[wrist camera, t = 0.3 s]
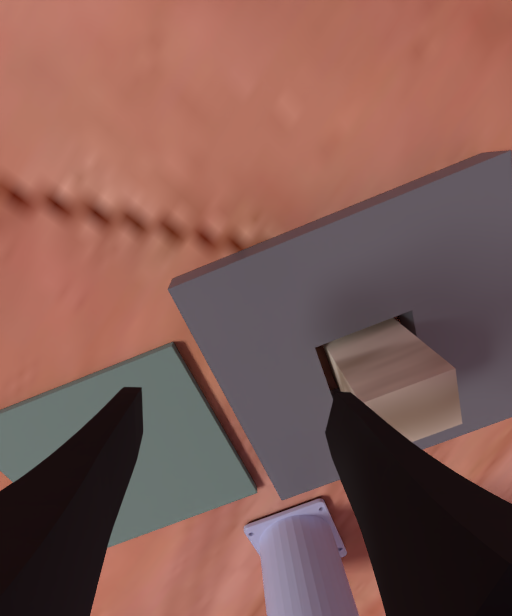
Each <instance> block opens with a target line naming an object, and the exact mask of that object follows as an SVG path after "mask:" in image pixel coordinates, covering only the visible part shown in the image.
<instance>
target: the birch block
mask: <svg viewBox="0 0 512 616" xmlns="http://www.w3.org/2000/svg"><path fill="white" fill-rule="evenodd" d="M323 347H324V350H325V353H326V356H327V359H328V362H329V365H330V368H331V371H332V374H333V377H334V380H335V382H336V384H337V385H338V387H339V389H340V391H341V392H351V393H352V394H353V395H355V396H356V397H357V398H358V399H360V400H361V401H362V402H363V403H364V404H366V405H367V406H368V407H369V408H370V409H372V410H373V411H374V412H375V413H376V414H378V415H379V416H380V417H381V418H382V419H383V420H385V421H386V422H387V423H388V424H390V425H391V426H392V427H393V428H394V429H396V430H397V431H398V432H399V433H401V434H402V435H403V436H405V437H406V438H407V439H408V440H410V441H411V442H414V441H416V440H419V439H422V438H425V437H427V436H430V435H433V434H436V433H438V432H441V431H444V430H446V429H449V428H452V427H455V426H457V425H460V424H462V417H461V409H460V401H459V393H458V385H457V377H456V369H455V368H454V367H453V366H452V365H451V364H450V363H448V362H447V361H446V360H445V359H443V358H442V357H441V356H440V355H438V354H437V353H436V352H435V351H434V350H432V349H431V348H430V347H429V346H427V345H426V344H425V343H424V342H422V341H421V340H420V339H419V338H418V337H416V336H415V335H414V334H413V333H411V332H410V331H409V330H408V329H406V328H405V327H404V326H403V325H401V324H400V323H399V322H398V321H397V320H395V319H394V318H391V319H388V320H385V321H383V322H380V323H378V324H375V325H372V326H370V327H367V328H365V329H362V330H359V331H357V332H354V333H352V334H349V335H346V336H344V337H341V338H339V339H336V340H333V341H331V342H328V343H326V344H323Z"/></svg>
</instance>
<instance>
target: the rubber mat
mask: <svg viewBox="0 0 512 616" xmlns="http://www.w3.org/2000/svg"><path fill="white" fill-rule="evenodd" d="M123 387H142V406H143V436H142V441H141V445H140V449H139V454H138V458H137V461H136V464H135V467H134V470H133V473H132V476H131V479H130V482H129V485H128V487H127V490H126V493H125V496H124V499H123V501H122V504H121V507H120V510H119V513H118V516H117V518H116V521H115V524H114V527H113V530H112V533H111V536H110V540H109V543H108V546H107V548H108V547H111V546H114V545H116V544H119V543H122V542H124V541H127V540H130V539H133V538H135V537H138V536H141V535H144V534H146V533H149V532H152V531H155V530H157V529H160V528H163V527H165V526H168V525H171V524H174V523H176V522H179V521H182V520H185V519H187V518H190V517H193V516H196V515H198V514H201V513H204V512H206V511H209V510H212V509H215V508H217V507H220V506H223V505H226V504H228V503H231V502H234V501H237V500H239V499H242V498H245V497H247V496H250V495H253V494H256V493H257V486H256V485H255V483H254V481H253V480H252V478H251V476H250V474H249V473H248V471H247V469H246V467H245V466H244V464H243V462H242V460H241V459H240V457H239V455H238V454H237V452H236V450H235V448H234V447H233V445H232V443H231V441H230V440H229V438H228V436H227V435H226V433H225V431H224V429H223V428H222V426H221V424H220V422H219V421H218V419H217V417H216V415H215V414H214V412H213V410H212V409H211V407H210V405H209V403H208V402H207V400H206V398H205V396H204V395H203V393H202V391H201V389H200V388H199V386H198V384H197V383H196V381H195V379H194V377H193V376H192V374H191V372H190V370H189V369H188V367H187V365H186V363H185V362H184V360H183V358H182V357H181V355H180V353H179V351H178V350H177V348H176V346H175V344H174V343H173V342H171V343H168V344H166V345H163V346H161V347H158V348H156V349H153V350H151V351H148V352H146V353H143V354H141V355H138V356H136V357H133V358H131V359H128V360H125V361H123V362H120V363H118V364H115V365H113V366H110V367H108V368H105V369H103V370H100V371H98V372H95V373H93V374H90V375H88V376H85V377H83V378H80V379H77V380H75V381H72V382H70V383H67V384H65V385H62V386H60V387H57V388H55V389H52V390H50V391H47V392H45V393H42V394H40V395H37V396H35V397H32V398H29V399H27V400H24V401H22V402H19V403H17V404H14V405H12V406H9V407H7V408H4V409H2V410H0V471H1V472H2V473H3V474H5V475H6V476H7V477H8V478H9V479H10V480H11V481H12V482H15V481H16V480H18V479H19V478H21V477H22V476H23V475H25V474H26V473H27V472H29V471H30V470H31V469H33V468H34V467H35V466H37V465H38V464H39V463H41V462H42V461H43V460H45V459H46V458H47V457H48V456H50V455H51V454H52V453H53V452H54V451H56V450H57V449H58V448H59V447H60V446H62V445H63V444H64V443H65V442H66V441H67V440H69V439H70V438H71V437H72V436H73V435H74V434H75V433H77V432H78V431H79V430H80V429H81V428H82V427H83V426H84V425H85V424H86V423H87V422H88V421H89V420H91V419H92V418H93V417H94V416H95V415H96V414H97V413H98V412H99V411H100V410H101V409H102V408H103V407H104V406H105V405H106V404H107V403H108V402H109V401H110V400H111V399H112V398H113V397H114V396H115V395H116V394H117V393H118V392H119V391H120V390H121V389H122V388H123Z"/></svg>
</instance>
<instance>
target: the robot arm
mask: <svg viewBox="0 0 512 616" xmlns="http://www.w3.org/2000/svg"><path fill="white" fill-rule="evenodd" d="M325 435H326V439H327V443H328V446H329V450H330V453H331V457H332V460H333V462H334V465H335V467H336V470H337V472H338V475H339V477H340V480H341V482H342V485H343V487H344V489H345V492H346V494H347V497H348V499H349V502H350V504H351V506H352V509H353V511H354V514H355V516H356V518H357V521H358V524H359V526H360V529H361V532H362V535H363V538H364V541H365V544H366V548H367V551H368V554H369V557H370V560H371V564H372V567H373V571H374V574H375V577H376V581H377V584H378V588H379V591H380V595H381V598H382V602H383V606H384V609H385V613H386V616H512V504H511V503H509V502H507V501H505V500H503V499H501V498H499V497H497V496H496V495H494V494H492V493H490V492H488V491H487V490H485V489H483V488H481V487H480V486H478V485H476V484H474V483H473V482H471V481H469V480H467V479H466V478H464V477H463V476H461V475H459V474H458V473H456V472H454V471H453V470H451V469H450V468H448V467H447V466H445V465H444V464H442V463H441V462H439V461H438V460H436V459H435V458H433V457H432V456H430V455H429V454H427V453H426V452H425V451H423V450H422V449H420V448H419V447H418V446H416V445H415V444H414V443H412V442H411V441H410V440H408V439H407V438H406V437H405V436H403V435H402V434H401V433H399V432H398V431H397V430H396V429H394V428H393V427H392V426H391V425H390V424H388V423H387V422H386V421H385V420H383V419H382V418H381V417H380V416H379V415H378V414H376V413H375V412H374V411H373V410H372V409H370V408H369V407H368V406H367V405H366V404H364V403H363V402H362V401H361V400H360V399H358V398H357V397H356V396H355V395H353V394H352V393H351V392H335V395H334V399H333V403H332V407H331V411H330V415H329V419H328V423H327V427H326V431H325ZM142 436H143V406H142V387H123V388H122V389H121V390H120V391H119V392H118V393H117V394H116V395H115V396H114V397H113V398H112V399H111V400H110V401H109V402H108V403H107V404H106V405H105V406H104V407H103V408H102V409H101V410H100V411H99V412H98V413H97V414H96V415H95V416H94V417H93V418H92V419H91V420H89V421H88V422H87V423H86V424H85V425H84V426H83V427H82V428H81V429H80V430H79V431H78V432H77V433H75V434H74V435H73V436H72V437H71V438H70V439H69V440H67V441H66V442H65V443H64V444H63V445H62V446H60V447H59V448H58V449H57V450H56V451H54V452H53V453H52V454H51V455H50V456H48V457H47V458H46V459H45V460H43V461H42V462H41V463H39V464H38V465H37V466H35V467H34V468H33V469H31V470H30V471H29V472H27V473H26V474H25V475H23V476H22V477H21V478H19V479H18V480H16V481H15V482H13V483H12V484H10V485H9V486H7V487H6V488H4V489H3V490H1V491H0V616H90V613H91V609H92V605H93V601H94V597H95V593H96V589H97V585H98V581H99V577H100V573H101V569H102V565H103V562H104V558H105V554H106V550H107V546H108V543H109V540H110V536H111V533H112V530H113V527H114V524H115V521H116V518H117V516H118V513H119V510H120V507H121V504H122V501H123V499H124V496H125V493H126V490H127V487H128V485H129V482H130V479H131V476H132V473H133V470H134V467H135V464H136V461H137V458H138V454H139V449H140V445H141V441H142ZM244 533H245V534H246V536H247V537H248V539H249V540H250V542H251V543H252V545H253V546H254V548H255V549H256V551H257V552H258V554H259V555H260V557H261V566H262V575H263V584H264V593H265V603H266V612H267V616H359V614H358V611H357V608H356V604H355V601H354V598H353V595H352V592H351V589H350V586H349V582H348V579H347V576H346V573H345V570H344V567H343V564H342V560H341V557H344V556H346V554H347V551H346V548H345V546H344V544H343V542H342V539H341V537H340V535H339V533H338V531H337V528H336V526H335V524H334V522H333V519H332V517H331V515H330V513H329V510H328V508H327V506H326V504H325V501H324V500H323V499H321V498H319V499H316V500H313V501H310V502H307V503H304V504H302V505H299V506H296V507H293V508H291V509H288V510H285V511H282V512H280V513H277V514H274V515H271V516H268V517H266V518H263V519H260V520H257V521H255V522H252V523H249V524H247V525H245V526H244Z"/></svg>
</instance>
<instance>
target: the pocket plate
mask: <svg viewBox="0 0 512 616" xmlns="http://www.w3.org/2000/svg"><path fill="white" fill-rule="evenodd" d="M168 291H169V293H170V294H171V296H172V298H173V300H174V302H175V304H176V306H177V307H178V309H179V311H180V313H181V315H182V317H183V318H184V320H185V322H186V324H187V326H188V328H189V330H190V331H191V333H192V335H193V337H194V339H195V341H196V343H197V344H198V346H199V348H200V350H201V352H202V354H203V356H204V357H205V359H206V361H207V363H208V365H209V367H210V369H211V370H212V372H213V374H214V376H215V378H216V380H217V381H218V383H219V385H220V387H221V389H222V391H223V393H224V394H225V396H226V398H227V400H228V402H229V404H230V406H231V407H232V409H233V411H234V413H235V415H236V417H237V419H238V420H239V422H240V424H241V426H242V428H243V430H244V432H245V433H246V435H247V437H248V439H249V441H250V443H251V444H252V446H253V448H254V450H255V452H256V454H257V456H258V457H259V459H260V461H261V463H262V465H263V467H264V469H265V470H266V472H267V474H268V476H269V478H270V480H271V482H272V483H273V485H274V487H275V489H276V491H277V493H278V494H279V496H280V498H281V500H285V499H288V498H290V497H293V496H296V495H299V494H301V493H304V492H307V491H310V490H312V489H315V488H318V487H321V486H323V485H326V484H329V483H332V482H334V481H337V480H340V477H339V475H338V472H337V470H336V467H335V465H334V462H333V460H332V457H331V453H330V450H329V446H328V443H327V439H326V435H325V431H326V427H327V423H328V419H329V415H330V411H331V407H332V403H333V399H334V395H335V392H341V391H340V389H339V388H336V389H334V390H331V391H330V389H329V387H328V384H327V381H326V378H325V375H324V372H323V369H322V367H321V364H320V361H319V358H318V355H317V352H316V349H315V347H318V346H321V345H323V344H326V343H328V342H331V341H333V340H336V339H339V338H341V337H344V336H346V335H349V334H352V333H354V332H357V331H359V330H362V329H365V328H367V327H370V326H372V325H375V324H378V323H380V322H383V321H385V320H388V319H391V318H393V317H396V316H398V315H399V318H400V322H401V325H403V326H404V327H405V328H406V329H408V330H409V331H410V332H411V333H413V334H414V335H415V336H416V337H418V338H419V339H420V340H421V341H422V342H424V343H425V344H426V345H427V346H429V347H430V348H431V349H432V350H434V351H435V352H436V353H437V354H438V355H440V356H441V357H442V358H443V359H445V360H446V361H447V362H448V363H450V364H451V365H452V366H453V367H454V368H455V369H456V377H457V385H458V393H459V401H460V409H461V417H462V424H460V425H457V426H455V427H452V428H449V429H446V430H444V431H441V432H438V433H436V434H433V435H430V436H427V437H425V438H422V439H419V440H416V441H414V442H412V443H414V444H415V445H416V446H418V447H419V448H420V449H425V448H428V447H431V446H433V445H436V444H439V443H442V442H444V441H447V440H450V439H453V438H456V437H458V436H461V435H464V434H467V433H469V432H472V431H475V430H478V429H480V428H483V427H486V426H489V425H491V424H494V423H497V422H500V421H502V420H505V419H508V418H511V417H512V157H511V150H508V151H497V152H486V153H481V154H478V155H476V156H473V157H471V158H468V159H466V160H463V161H461V162H458V163H456V164H453V165H451V166H449V167H446V168H444V169H441V170H439V171H436V172H434V173H431V174H429V175H426V176H424V177H421V178H419V179H417V180H414V181H412V182H409V183H407V184H404V185H402V186H399V187H397V188H394V189H392V190H389V191H387V192H385V193H382V194H380V195H377V196H375V197H372V198H370V199H367V200H365V201H362V202H360V203H357V204H355V205H353V206H350V207H348V208H345V209H343V210H340V211H338V212H335V213H333V214H330V215H328V216H325V217H323V218H321V219H318V220H316V221H313V222H311V223H308V224H306V225H303V226H301V227H298V228H296V229H293V230H291V231H289V232H286V233H284V234H281V235H279V236H276V237H274V238H271V239H269V240H266V241H264V242H261V243H259V244H257V245H254V246H252V247H249V248H247V249H244V250H242V251H239V252H237V253H234V254H232V255H229V256H227V257H225V258H222V259H220V260H217V261H215V262H212V263H210V264H207V265H205V266H202V267H200V268H197V269H195V270H193V271H190V272H188V273H185V274H183V275H180V276H178V277H175V278H173V279H172V281H171V283H170V285H169V288H168Z"/></svg>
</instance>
